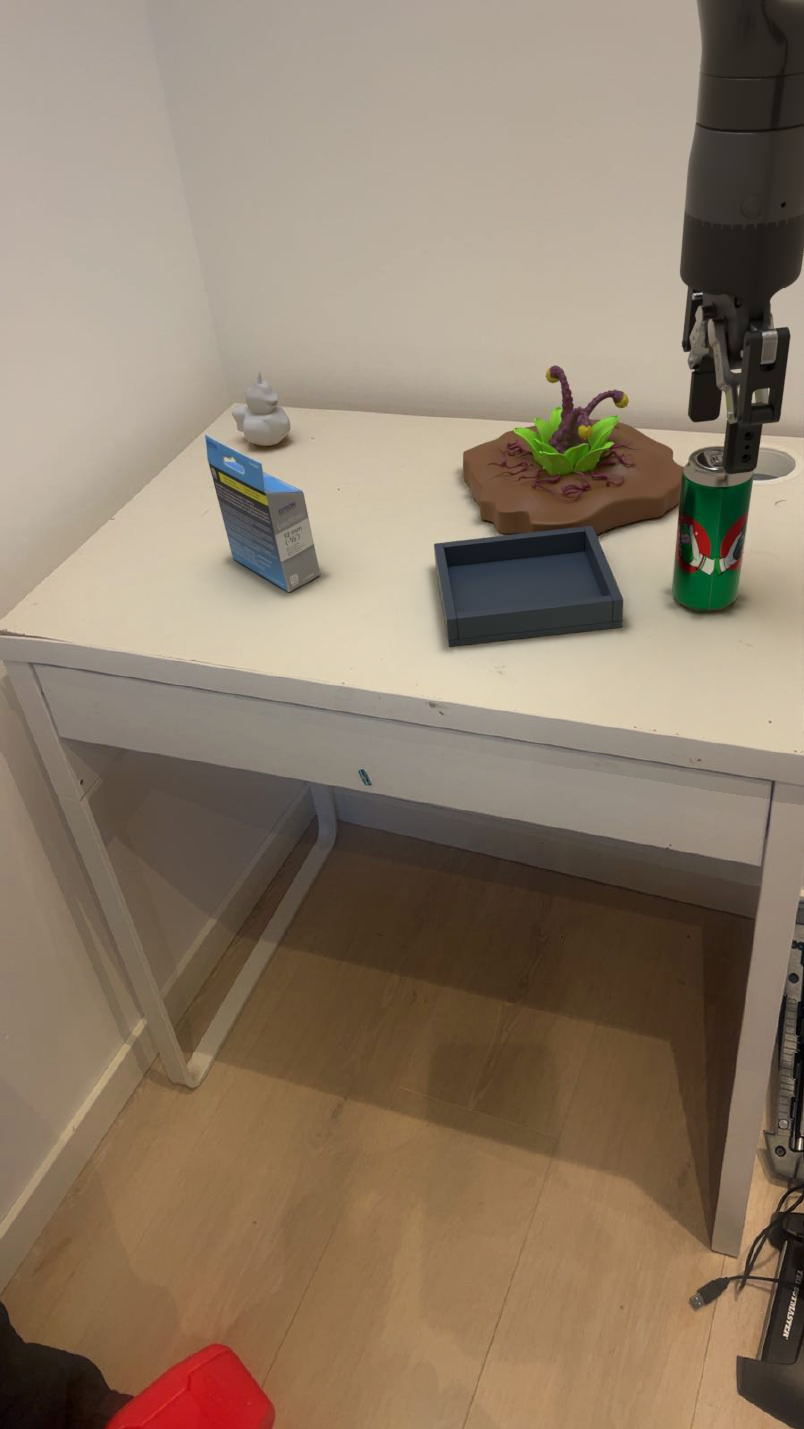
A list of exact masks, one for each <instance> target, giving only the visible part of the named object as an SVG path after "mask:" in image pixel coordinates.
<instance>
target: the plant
mask: <svg viewBox="0 0 804 1429" xmlns="http://www.w3.org/2000/svg"><path fill="white" fill-rule="evenodd" d="M545 378H546V381H547V382H548V383H550V384H555V383H558V382H559V383H560V389H561V390H560V391H561V392H560V393H561V398H562V399H561V402H562V403H561V406H556V407H555V408H554V409H553V410H552V411H551V413H550V417H549V421H547V420H545V419H544V418H541V417H538V416H537V417H534V419H533V423H534V425H530V426H526V427H512V430H509V431H506V432H503V434H502V435H500V436H498V437H497V438H494V439H492V440H490V441H486V442H483V443H480V444H478V445H476V446H474V447H471V448H469V449H466V450H464V451H463V453H462V474H463V480H464V482H465V483H466V484H467V485H468V486H469V487H470V493H471V496H472V498H473V499H474V501H475V502H476V503H477V504H478V505H479V516H480V519H481V520H483V521H488V522H491V523H492V524H494V526H495V528H496V530H497V531H498V532H499V533H501V534H505V535H506V534H507V535H513V534H522V533H531V532H540V531H549V530H558V529H566V528H575V527H584V526H593V528H594V530H595V533H596V535H597V536H598V535H599V534H601V533H603V532H605V531H607V530H611V529H615V528H617V527H620V526H624V525H628V524H631V523H635V522H638V521H643V520H648V519H649V520H650V519H657V518H660V517H662V516H664V515H665V513H666V512H668V511H669V510H671V509H673V508H675V506H677V505H678V504H679V503H680V491H681V479H682V471H683V468H684V467H685V466H683V465H681V464H679V463H677V462H676V461H675V459H674V450H673V449H672V448H671V447H670V446H668V445H666V444H664V443H662V442H659V441H657V440H655V439H654V438H651V437H649V436H648V435H646V434H644V433H643V432H641V431H640V430H638V429H637V428H635V427H633V426H631V425H629V424H626V423H623V422H620V416H619V414H617V415H615V414H614V415H610V416H607V417H603V418H601V419H597V418H596V419H595V418H593V419H592V418H591V419H590V415H591V414H592V413H593V411H594V410H595V409H596V407H597V406H598V405H599V404H600V403H601V402H602V401H604V400H606V399H609V398H611V399H612V401H613V403H614V406H615V407H616V408H618V409H624V408H626V407H627V408H628V405H629V397H628V395H627V394H626V393H625V392H624V391H623V390H618V389H613V390H610V389H609V390H607V391H603V392H600V393H598V394H597V396H595V397H593V398H592V400H591V401H589V402H588V404H587V406H586V407H581V406H577V407H574V406H575V404H574V403H573V402H574V397H573V396H572V394H573V392H572V390H571V388H570V384H569V382H568V377H567V375H566V374H565V370H564V369H563V368H562V367H560V366H559V365H555V364H554V365H552V366H550V367H549V368H548V369H547V370H546V373H545Z"/></svg>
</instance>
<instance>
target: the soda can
mask: <svg viewBox="0 0 804 1429" xmlns="http://www.w3.org/2000/svg"><path fill="white" fill-rule="evenodd" d="M723 450H724V445H711V446H704V447H701V448H698V449H696V450H694V451H692V452H691V454H689V456H688V459H687V460H688V462H687V463H686V464H685V465H684V466H683V467H684V468H683V471H682V479H681V491H680V500H679V502H678V504H679V505H678V515H677V516H678V517H677V527H676V538H675V548H674V550H675V551H674V563H673V574H672V584H671V592H672V595H673V597H674V598H675V600H677V602H678V603H679V604H680V605H682V606H683V607H685V608H687V609H689V610H693V611H696V612H703V613H704V612H705V613H707V612H717V611H720V610H723V609H725V608H726V607H728V606H730V605H731V604H732V603H734V602H735V600H736V599H737V598H738V596H739V589H740V581H741V575H742V574H741V573H742V566H743V560H744V559H743V558H744V553H745V552H744V551H745V543H746V536H747V528H748V520H749V514H750V507H751V498H752V492H753V485H754V477H755V473H754V471H755V470H753V471H751V472H746V473H737V474H728V473H726V472H725V470H724V468H723V467H722V459H723Z"/></svg>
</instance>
